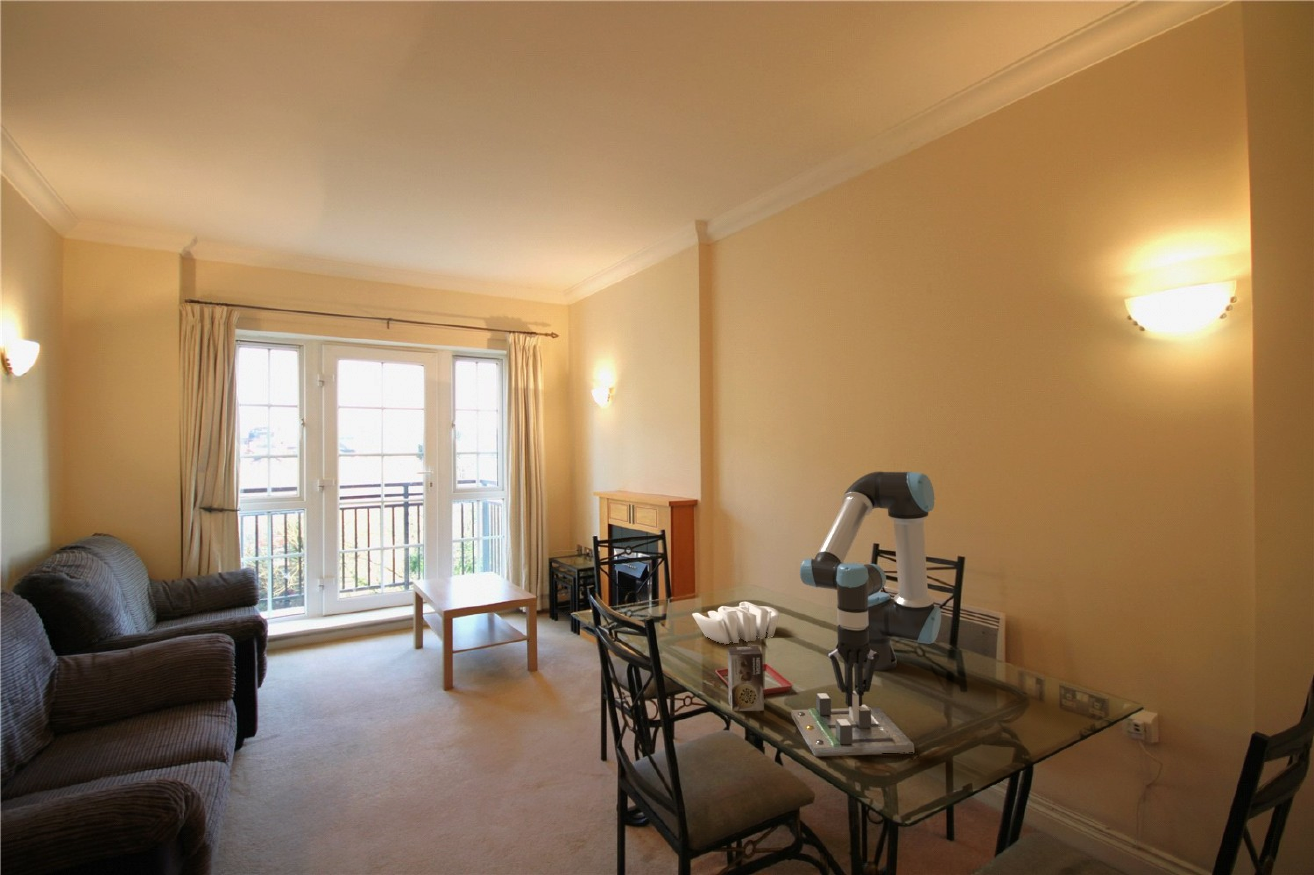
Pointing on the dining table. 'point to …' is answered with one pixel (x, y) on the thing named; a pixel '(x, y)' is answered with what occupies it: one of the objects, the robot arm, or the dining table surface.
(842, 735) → the block
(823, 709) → the breaker
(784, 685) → the plant saucer
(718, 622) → the wavy white extrusion
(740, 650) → the coffee box
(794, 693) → the dining table surface
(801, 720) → the slider switch panel
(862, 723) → the block
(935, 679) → the dining table surface
